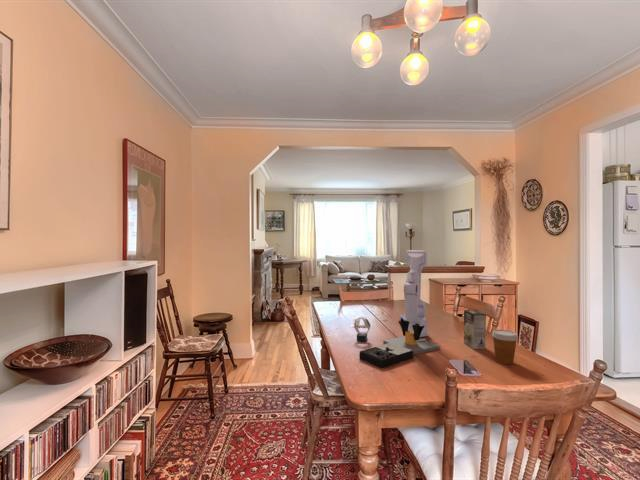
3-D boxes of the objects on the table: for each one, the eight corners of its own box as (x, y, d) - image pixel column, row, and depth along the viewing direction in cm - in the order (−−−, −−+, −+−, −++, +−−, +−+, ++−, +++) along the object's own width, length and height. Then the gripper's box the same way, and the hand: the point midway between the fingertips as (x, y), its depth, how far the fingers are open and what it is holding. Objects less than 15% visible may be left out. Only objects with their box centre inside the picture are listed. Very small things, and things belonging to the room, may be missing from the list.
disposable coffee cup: (487, 357, 143) (487, 329, 143) (510, 357, 143) (510, 329, 142) (498, 365, 133) (498, 335, 133) (522, 366, 133) (523, 336, 133)
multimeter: (358, 359, 141) (358, 347, 141) (390, 350, 152) (390, 339, 152) (382, 369, 130) (382, 357, 130) (413, 359, 142) (413, 347, 142)
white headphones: (368, 327, 190) (368, 320, 190) (357, 329, 185) (357, 322, 185) (358, 324, 197) (358, 317, 197) (347, 326, 193) (347, 319, 193)
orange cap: (411, 340, 160) (411, 330, 160) (418, 343, 156) (418, 333, 156) (403, 342, 158) (403, 331, 158) (410, 345, 153) (410, 334, 153)
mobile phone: (467, 359, 139) (482, 374, 124) (467, 361, 139) (482, 376, 124) (448, 358, 139) (461, 373, 124) (448, 361, 139) (461, 376, 124)
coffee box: (462, 342, 162) (463, 309, 162) (475, 342, 162) (476, 309, 162) (472, 349, 153) (473, 314, 153) (486, 349, 153) (486, 313, 153)
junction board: (412, 338, 169) (412, 333, 169) (439, 349, 153) (439, 344, 153) (383, 343, 161) (383, 338, 161) (409, 355, 145) (409, 350, 145)
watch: (369, 342, 162) (369, 319, 162) (353, 340, 164) (353, 318, 164) (371, 339, 168) (371, 317, 167) (355, 337, 170) (355, 315, 170)
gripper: (394, 306, 161) (394, 334, 161) (415, 312, 148) (415, 343, 148) (405, 305, 164) (405, 332, 165) (427, 311, 151) (427, 341, 152)
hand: (411, 337), depth 157 cm, fingers open, 7 cm apart
